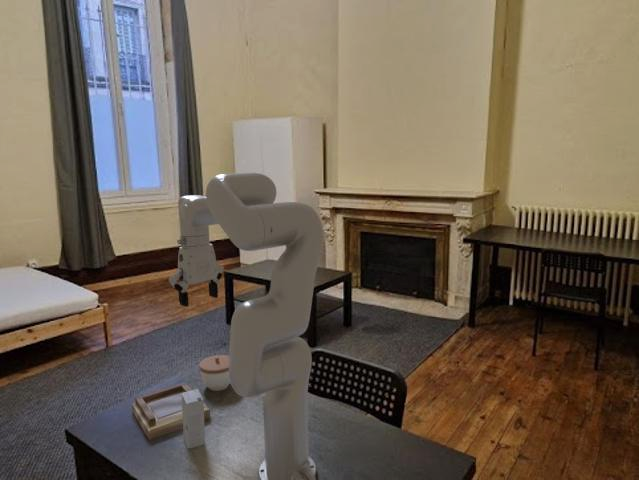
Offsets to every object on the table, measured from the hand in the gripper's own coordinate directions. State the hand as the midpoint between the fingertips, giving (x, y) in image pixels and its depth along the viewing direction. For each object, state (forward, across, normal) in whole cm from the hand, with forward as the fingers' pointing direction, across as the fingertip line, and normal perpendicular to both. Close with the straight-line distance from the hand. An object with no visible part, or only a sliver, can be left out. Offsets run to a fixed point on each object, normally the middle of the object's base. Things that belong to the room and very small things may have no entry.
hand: (199, 301), depth 127 cm
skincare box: (+30, -14, -15) cm, 36 cm away
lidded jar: (+30, +7, +3) cm, 31 cm away
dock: (+30, -11, 0) cm, 32 cm away
